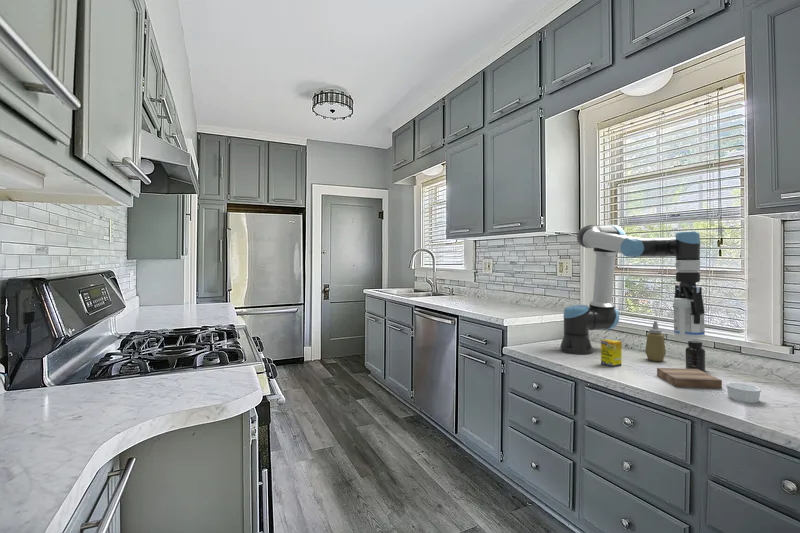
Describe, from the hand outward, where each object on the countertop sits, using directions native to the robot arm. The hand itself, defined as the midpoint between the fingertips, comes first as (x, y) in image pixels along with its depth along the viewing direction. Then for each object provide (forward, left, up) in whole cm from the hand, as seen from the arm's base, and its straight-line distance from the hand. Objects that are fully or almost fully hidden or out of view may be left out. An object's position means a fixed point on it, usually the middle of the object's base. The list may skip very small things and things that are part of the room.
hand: (687, 329), depth 153 cm
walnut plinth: (0, 0, -20) cm, 20 cm away
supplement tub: (0, 0, -3) cm, 3 cm away
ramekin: (+18, +8, -20) cm, 28 cm away
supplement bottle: (-18, +12, -20) cm, 30 cm away
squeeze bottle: (-33, +3, -20) cm, 39 cm away
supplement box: (-22, -20, -20) cm, 36 cm away
